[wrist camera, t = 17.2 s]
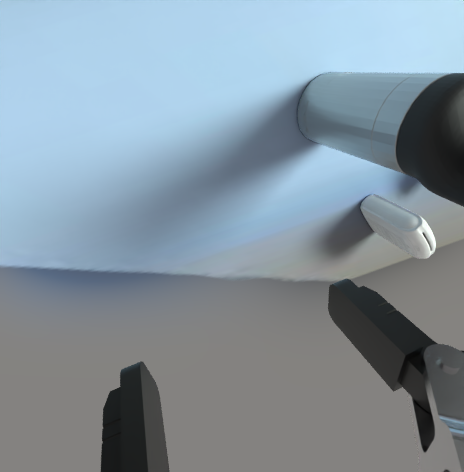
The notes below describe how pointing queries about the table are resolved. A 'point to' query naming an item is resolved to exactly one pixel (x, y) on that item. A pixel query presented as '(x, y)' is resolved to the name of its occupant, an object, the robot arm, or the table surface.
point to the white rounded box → (399, 226)
